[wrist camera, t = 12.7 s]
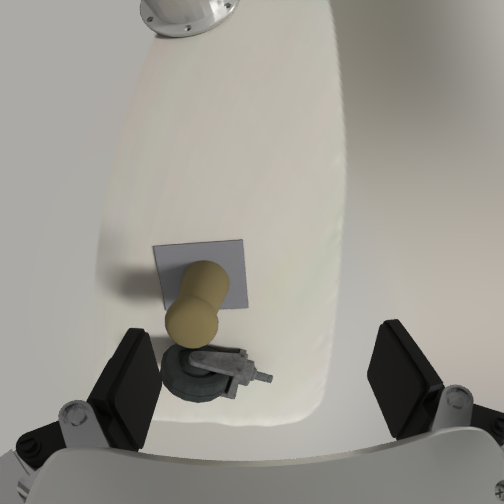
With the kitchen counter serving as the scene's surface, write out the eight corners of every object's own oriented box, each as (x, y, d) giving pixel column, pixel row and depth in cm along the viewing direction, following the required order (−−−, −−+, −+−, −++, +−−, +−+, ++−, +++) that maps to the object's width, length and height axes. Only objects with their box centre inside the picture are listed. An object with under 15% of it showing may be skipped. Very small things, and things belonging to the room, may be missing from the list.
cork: (193, 309, 36) (174, 363, 26) (174, 268, 35) (145, 313, 24) (237, 296, 36) (230, 350, 25) (219, 253, 34) (204, 295, 24)
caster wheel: (172, 353, 41) (266, 382, 40) (149, 394, 31) (261, 429, 31) (177, 324, 39) (278, 355, 39) (151, 364, 30) (276, 403, 29)
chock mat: (154, 245, 34) (153, 246, 34) (242, 239, 34) (242, 240, 34) (167, 309, 37) (166, 310, 37) (248, 306, 37) (248, 308, 36)
